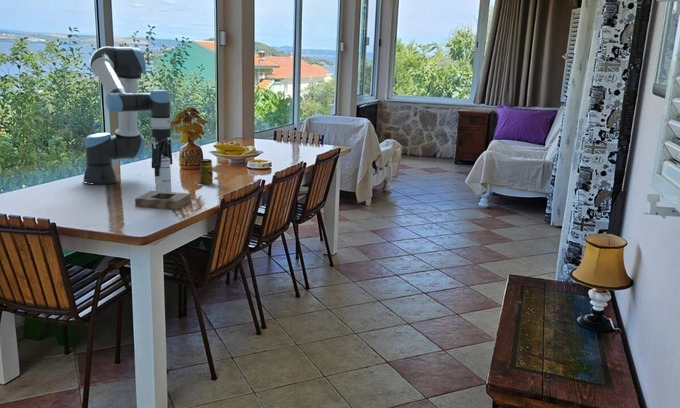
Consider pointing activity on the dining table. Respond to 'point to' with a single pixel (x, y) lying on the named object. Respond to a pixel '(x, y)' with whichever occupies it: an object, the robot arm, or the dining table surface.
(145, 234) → the dining table surface
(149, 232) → the dining table surface
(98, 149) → the robot arm
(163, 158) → the syrup box
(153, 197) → the walnut socket block
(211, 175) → the condiment
